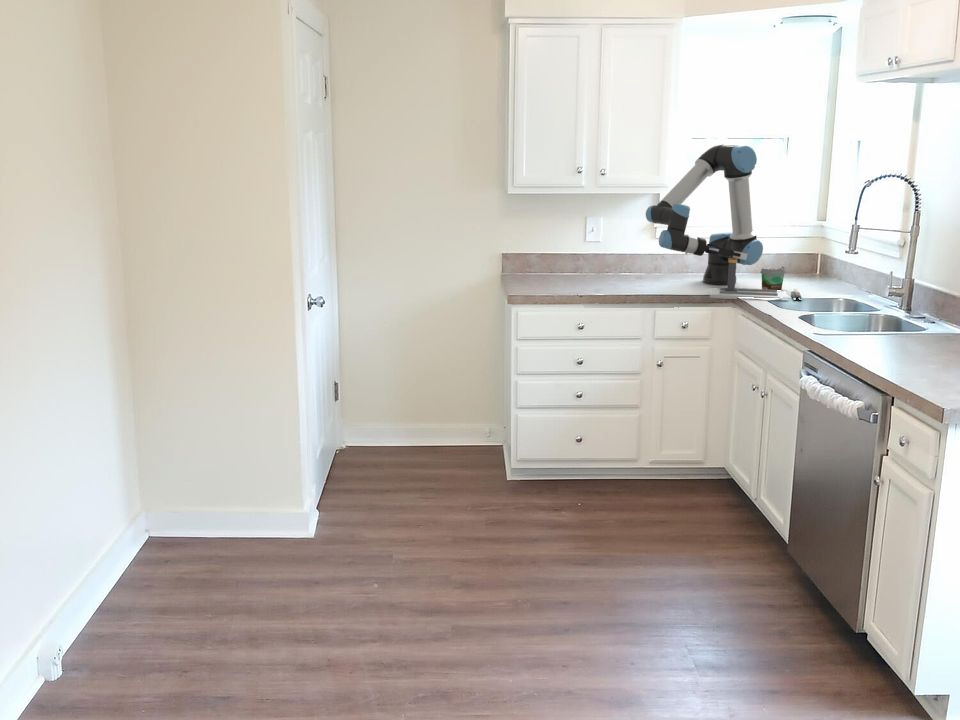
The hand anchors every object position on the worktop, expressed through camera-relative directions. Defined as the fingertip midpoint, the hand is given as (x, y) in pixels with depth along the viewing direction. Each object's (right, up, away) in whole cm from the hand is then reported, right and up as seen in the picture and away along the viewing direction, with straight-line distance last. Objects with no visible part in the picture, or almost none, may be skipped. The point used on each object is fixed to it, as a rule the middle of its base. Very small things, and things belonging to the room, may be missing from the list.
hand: (745, 256), depth 380 cm
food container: (+17, -14, +14) cm, 26 cm away
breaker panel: (+2, -17, +3) cm, 17 cm away
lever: (-5, -15, +4) cm, 16 cm away
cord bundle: (+21, -18, -1) cm, 28 cm away
